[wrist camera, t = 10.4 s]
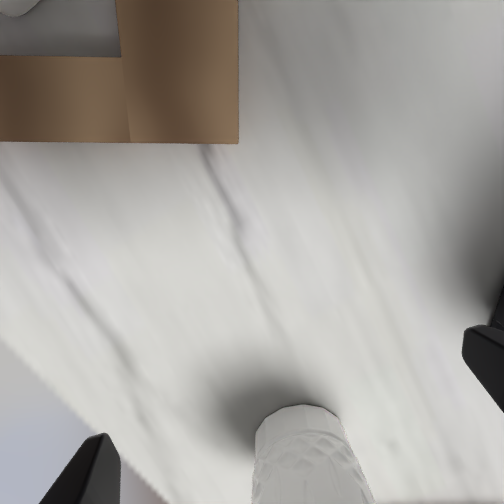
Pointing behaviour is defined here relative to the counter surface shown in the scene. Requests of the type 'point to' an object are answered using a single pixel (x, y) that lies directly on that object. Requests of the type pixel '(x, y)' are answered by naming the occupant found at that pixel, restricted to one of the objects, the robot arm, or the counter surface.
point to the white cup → (306, 460)
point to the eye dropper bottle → (16, 7)
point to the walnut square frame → (134, 81)
